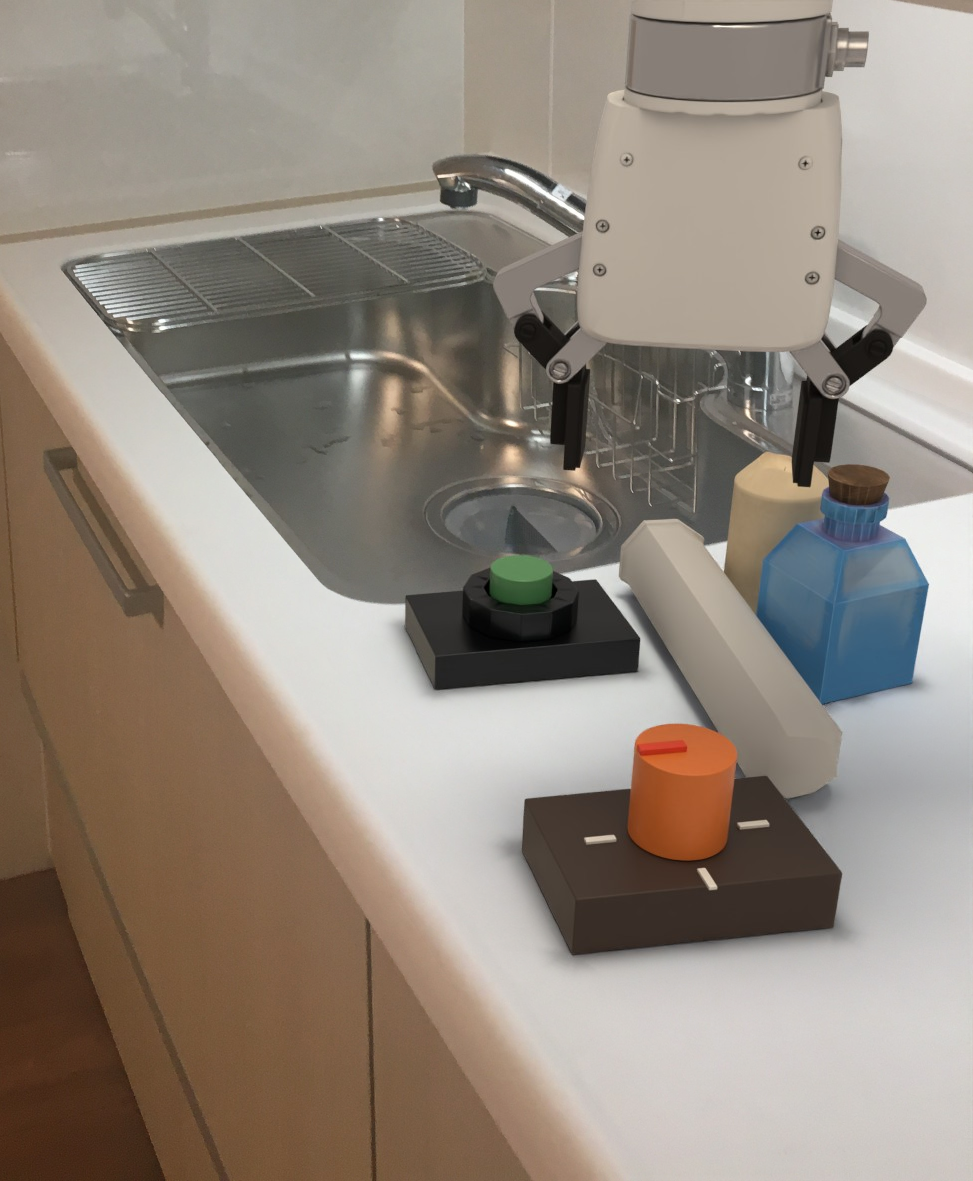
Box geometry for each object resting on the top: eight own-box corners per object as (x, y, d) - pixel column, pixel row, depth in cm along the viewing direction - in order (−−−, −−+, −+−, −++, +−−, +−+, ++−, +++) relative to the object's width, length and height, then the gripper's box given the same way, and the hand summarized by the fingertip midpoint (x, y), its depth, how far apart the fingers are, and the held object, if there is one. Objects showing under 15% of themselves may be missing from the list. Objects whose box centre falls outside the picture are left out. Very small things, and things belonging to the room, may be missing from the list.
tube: (880, 740, 78) (715, 528, 101) (780, 715, 77) (637, 507, 100) (831, 828, 80) (681, 602, 103) (734, 805, 80) (604, 582, 102)
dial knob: (705, 801, 76) (715, 713, 74) (742, 855, 72) (754, 764, 70) (614, 810, 75) (621, 722, 73) (646, 865, 71) (655, 773, 69)
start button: (541, 578, 97) (542, 552, 96) (559, 605, 93) (561, 578, 93) (482, 583, 96) (483, 557, 95) (498, 610, 93) (499, 583, 92)
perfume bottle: (751, 655, 94) (774, 464, 89) (839, 636, 96) (867, 447, 91) (819, 704, 89) (848, 504, 84) (911, 683, 91) (946, 486, 86)
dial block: (758, 823, 79) (765, 768, 78) (837, 931, 72) (846, 873, 70) (519, 846, 78) (522, 791, 77) (574, 959, 71) (578, 900, 69)
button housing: (594, 610, 100) (598, 552, 99) (638, 671, 93) (643, 610, 92) (404, 626, 99) (405, 568, 98) (434, 689, 92) (436, 627, 91)
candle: (827, 606, 100) (850, 455, 95) (791, 639, 96) (812, 483, 92) (743, 583, 103) (761, 436, 99) (704, 614, 99) (721, 462, 95)
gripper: (951, 49, 64) (889, 451, 72) (514, 48, 69) (498, 425, 76) (974, 78, 58) (903, 516, 65) (490, 75, 63) (475, 485, 70)
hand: (685, 467), depth 71 cm, fingers open, 9 cm apart
